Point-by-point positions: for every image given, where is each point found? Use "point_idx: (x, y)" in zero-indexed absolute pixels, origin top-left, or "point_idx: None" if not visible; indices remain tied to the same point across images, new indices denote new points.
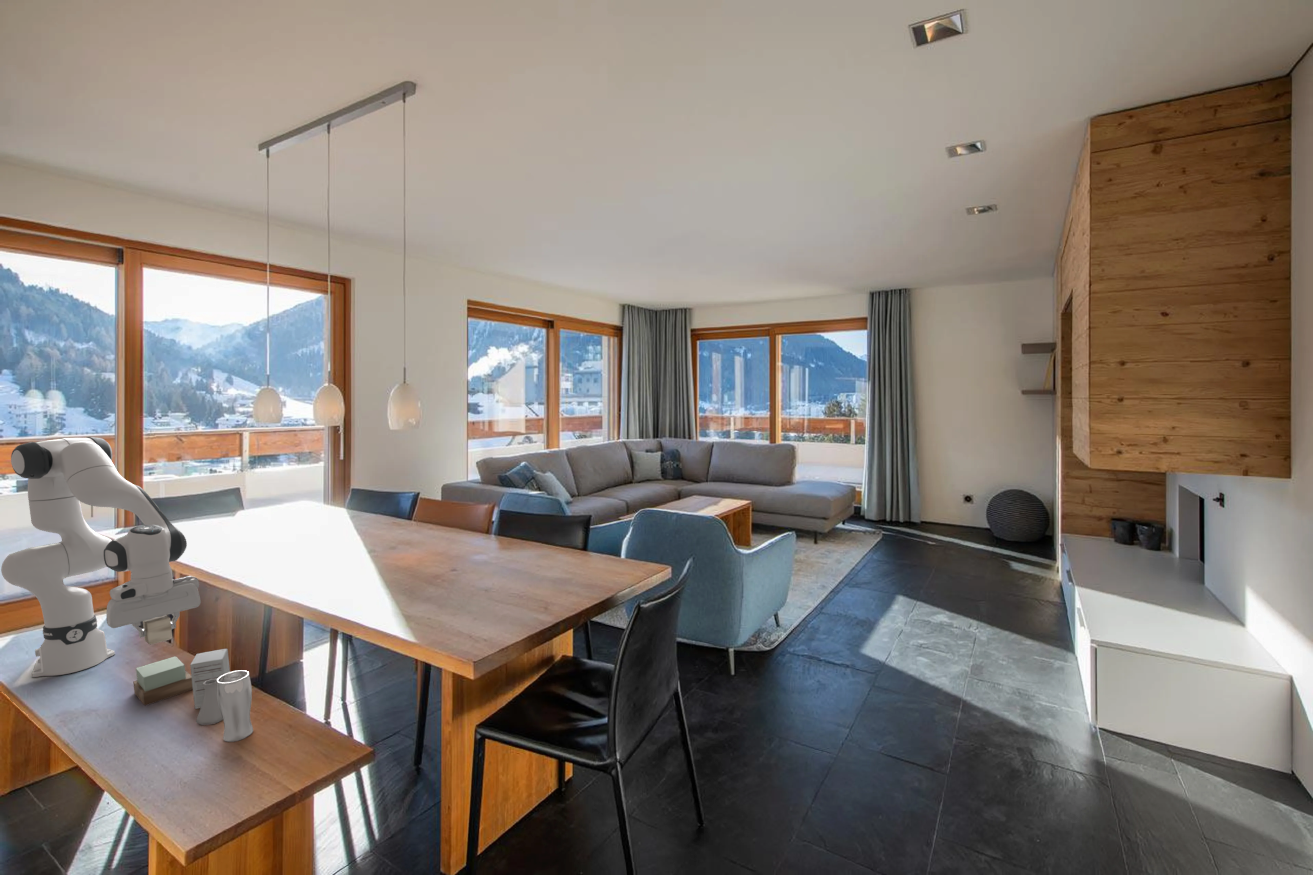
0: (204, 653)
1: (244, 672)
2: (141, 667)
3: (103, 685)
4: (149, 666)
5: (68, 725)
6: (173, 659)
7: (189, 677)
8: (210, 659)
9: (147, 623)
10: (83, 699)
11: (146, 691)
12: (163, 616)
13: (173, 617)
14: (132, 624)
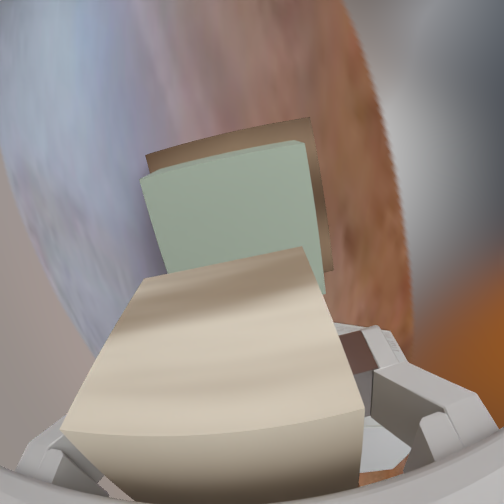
0: (381, 434)
1: None
2: (161, 189)
3: (82, 25)
4: (193, 202)
5: (51, 268)
6: (293, 186)
7: (324, 265)
8: (373, 467)
9: None
10: (44, 107)
11: None
12: (315, 477)
13: (412, 407)
14: (29, 454)
